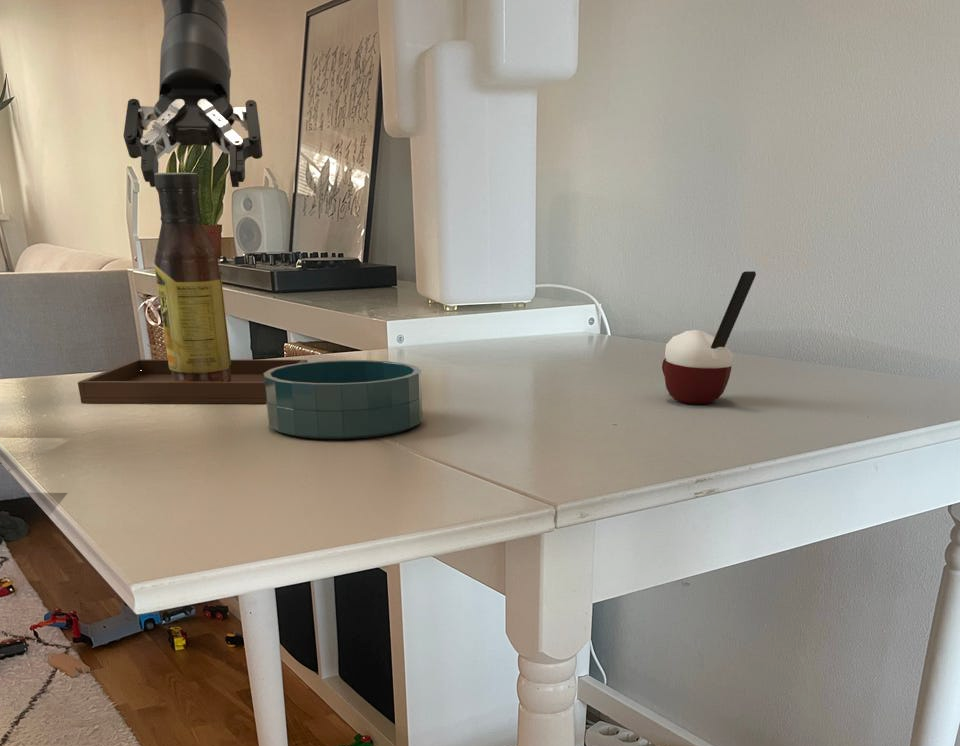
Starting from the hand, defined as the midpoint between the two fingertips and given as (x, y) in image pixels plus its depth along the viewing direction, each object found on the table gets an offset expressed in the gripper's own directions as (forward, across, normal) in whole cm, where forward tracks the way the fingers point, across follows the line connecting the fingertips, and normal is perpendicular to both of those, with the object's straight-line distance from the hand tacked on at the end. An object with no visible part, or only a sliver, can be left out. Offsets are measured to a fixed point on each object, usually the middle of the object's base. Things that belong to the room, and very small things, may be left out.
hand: (193, 181), depth 103 cm
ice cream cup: (+33, +48, -4) cm, 58 cm away
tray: (+22, 0, +6) cm, 23 cm away
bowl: (+36, +15, -8) cm, 40 cm away
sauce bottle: (+22, 0, +6) cm, 23 cm away
